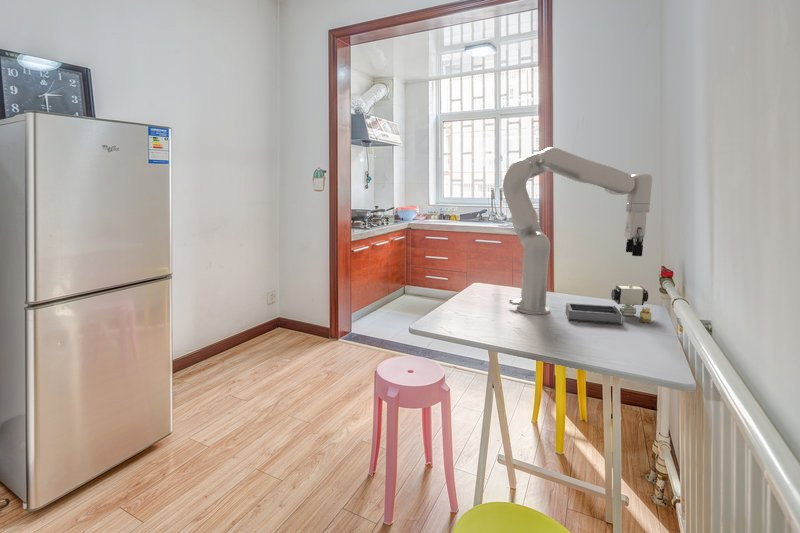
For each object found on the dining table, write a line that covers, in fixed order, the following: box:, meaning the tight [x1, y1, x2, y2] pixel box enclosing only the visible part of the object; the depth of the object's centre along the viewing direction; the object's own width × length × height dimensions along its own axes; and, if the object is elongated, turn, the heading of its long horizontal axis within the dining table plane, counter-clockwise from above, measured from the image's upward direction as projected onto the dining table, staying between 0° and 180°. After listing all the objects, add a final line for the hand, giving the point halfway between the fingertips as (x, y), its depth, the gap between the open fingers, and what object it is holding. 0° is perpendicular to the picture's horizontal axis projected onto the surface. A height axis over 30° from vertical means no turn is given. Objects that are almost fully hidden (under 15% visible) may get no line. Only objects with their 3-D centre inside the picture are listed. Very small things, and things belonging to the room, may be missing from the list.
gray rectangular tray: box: [565, 302, 623, 326], centre depth 157 cm, size 17×13×4 cm
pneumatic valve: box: [610, 284, 649, 317], centre depth 161 cm, size 6×12×12 cm, turn 78°
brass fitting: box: [638, 307, 652, 324], centre depth 152 cm, size 4×4×5 cm
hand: (633, 254), depth 158 cm, fingers open, 9 cm apart
